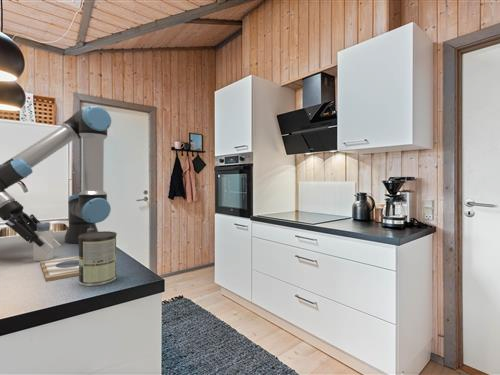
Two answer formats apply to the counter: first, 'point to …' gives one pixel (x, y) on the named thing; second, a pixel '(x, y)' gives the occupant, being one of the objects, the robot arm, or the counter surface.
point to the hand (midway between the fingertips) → (54, 249)
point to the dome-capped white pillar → (47, 235)
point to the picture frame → (60, 268)
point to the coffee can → (97, 258)
